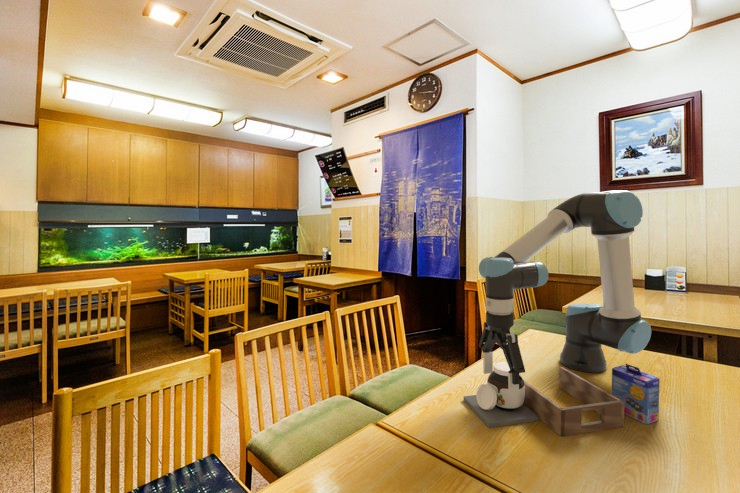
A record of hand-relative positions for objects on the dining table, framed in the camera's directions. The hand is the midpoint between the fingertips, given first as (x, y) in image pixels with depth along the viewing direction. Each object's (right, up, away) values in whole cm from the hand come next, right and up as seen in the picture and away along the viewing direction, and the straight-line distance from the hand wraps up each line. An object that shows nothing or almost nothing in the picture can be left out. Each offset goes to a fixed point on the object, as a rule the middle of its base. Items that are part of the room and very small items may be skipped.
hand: (500, 382), depth 103 cm
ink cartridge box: (+37, -8, -3) cm, 38 cm away
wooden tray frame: (+18, -8, 0) cm, 20 cm away
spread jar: (0, -7, 0) cm, 7 cm away
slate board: (0, -8, 0) cm, 8 cm away
